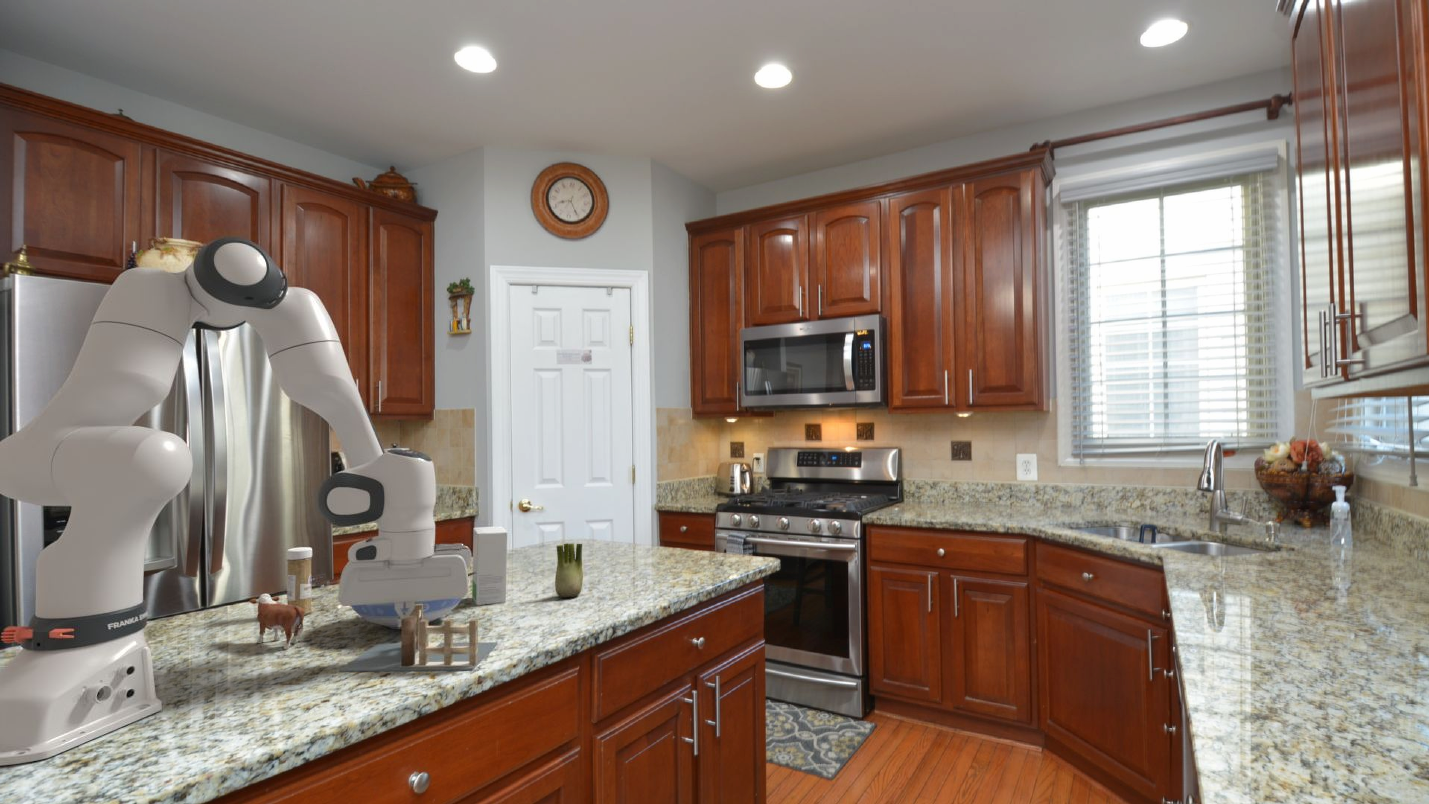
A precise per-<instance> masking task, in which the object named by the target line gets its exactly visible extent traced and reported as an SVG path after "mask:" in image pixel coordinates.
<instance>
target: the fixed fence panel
mask: <svg viewBox="0 0 1429 804" xmlns="http://www.w3.org/2000/svg"><path fill="white" fill-rule="evenodd" d="M468 624H469V625H454V619H453V618H447V619H445V620H444V622H443V625H429V623H428V619H422V620H421V621H419V665H426V664H428V655H440V654H444V665H451V664H452V663H453V654H469V665H476V664H477V663H478V643H479V619H478V618H471V619H469V621H468ZM435 634H437V635H441V634H443V635H444V636H443V637H444V638H443V643H444V646H433V647H428V643H429V635H435ZM455 634H468V643H469V646H453V643H454V635H455Z"/></svg>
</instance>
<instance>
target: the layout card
mask: <svg viewBox="0 0 1429 804" xmlns="http://www.w3.org/2000/svg"><path fill="white" fill-rule="evenodd" d="M497 645H498V642H496V641H495V642H494V641H493V642H491V641H490V642H489V641H488V642H487V641H486V642H485V641H484V642H478V663H477V664H476V665H469V654H453V663H452V664H451V665H444V654H440V655H428V664H426V665H419V649H418V650H415V664H414V665H412V666H401V643H400V642H399V643H398V642H397V643H395V642H394V643H391V642H390V643H377V644H375V645H374V646H371V648H369V649H367V650H366V651H365V652H363V653H362V654H360V655H359V656H357V657H356V658H354V659H353V660H351V661H350V662H348V663H347V664H345V665H344V666H342V667H341V668H339V670H338V672H339V673H340V672H347V673H348V672H349V673H351V672H411V671H412V672H414V671H415V672H418V671H419V672H422V671H424V672H426V671H427V672H429V671H434V672H435V671H437V672H438V671H440V672H441V671H474V669H475V668H477V666H478V665H479V664H480V663H481V662H482V661H483V660H484V659H485V657H486V656H488V655H489V653H491V652H492V650H493V649H494V648H495V647H496V646H497ZM433 646H444V642H428V647H433ZM453 646H469V642H453Z"/></svg>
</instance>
